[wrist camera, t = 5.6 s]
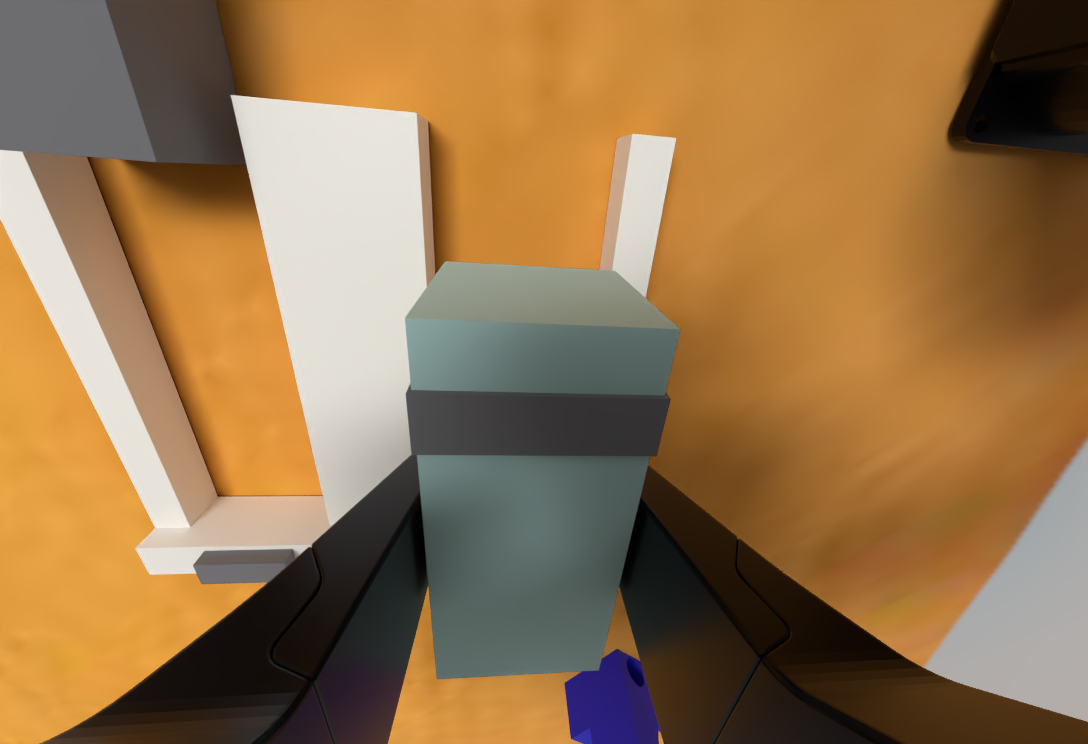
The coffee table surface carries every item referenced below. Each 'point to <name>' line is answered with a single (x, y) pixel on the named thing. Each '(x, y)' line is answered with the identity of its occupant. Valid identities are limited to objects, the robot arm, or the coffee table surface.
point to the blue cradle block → (612, 704)
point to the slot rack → (306, 308)
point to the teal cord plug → (531, 457)
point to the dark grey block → (117, 81)
